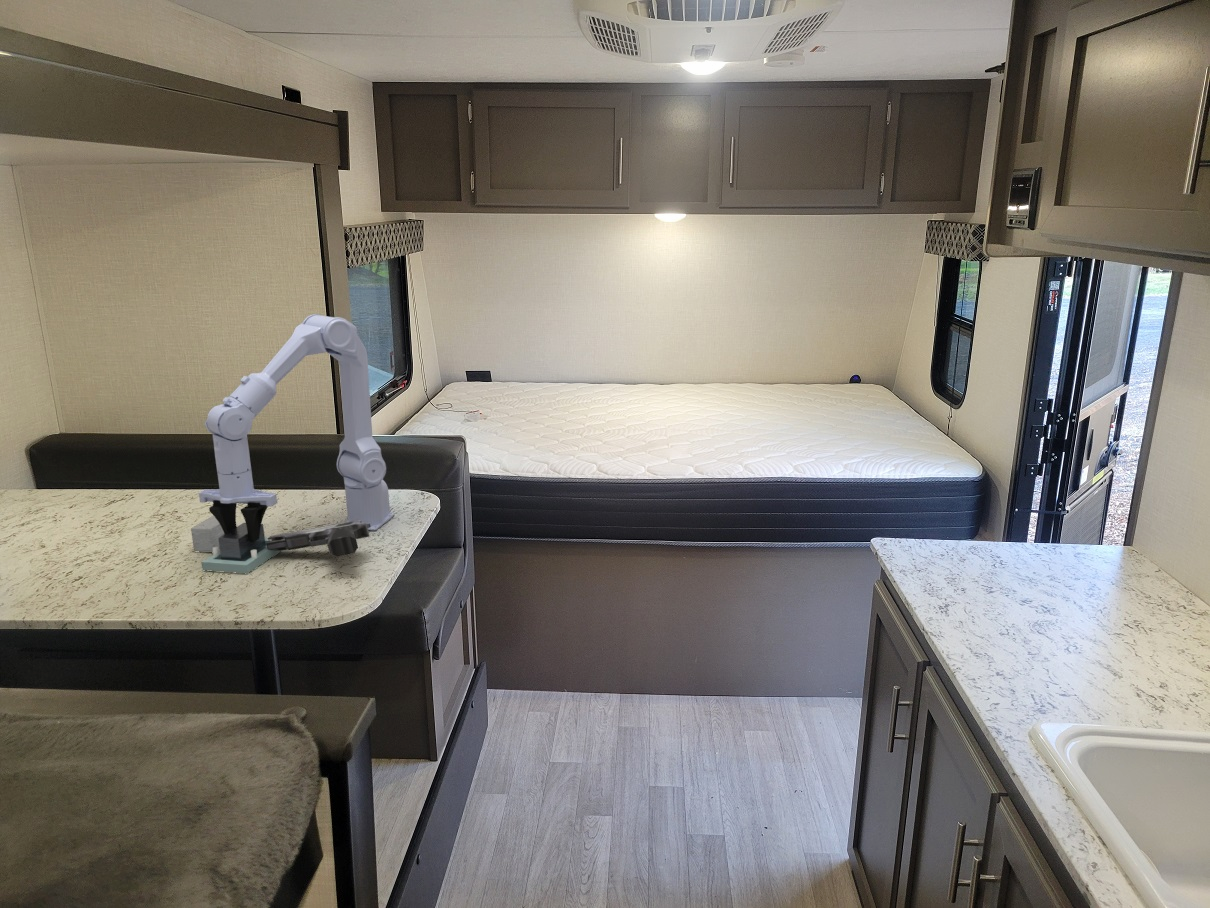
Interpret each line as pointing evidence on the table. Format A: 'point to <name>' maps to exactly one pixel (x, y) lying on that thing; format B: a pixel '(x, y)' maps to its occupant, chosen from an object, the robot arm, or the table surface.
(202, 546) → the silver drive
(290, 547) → the handgun
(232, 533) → the dark grey rectangular block
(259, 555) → the tray
